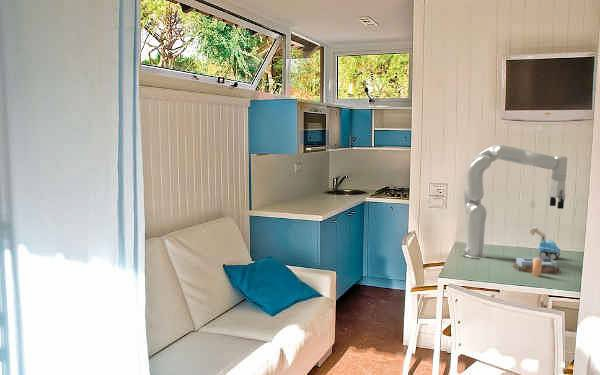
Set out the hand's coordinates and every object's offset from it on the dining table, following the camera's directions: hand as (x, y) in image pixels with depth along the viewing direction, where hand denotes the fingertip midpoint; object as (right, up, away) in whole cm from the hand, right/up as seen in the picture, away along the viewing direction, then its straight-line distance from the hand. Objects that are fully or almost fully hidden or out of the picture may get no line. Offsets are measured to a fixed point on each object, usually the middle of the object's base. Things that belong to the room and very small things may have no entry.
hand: (556, 207), depth 309 cm
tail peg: (-28, -35, -36) cm, 58 cm away
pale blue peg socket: (-23, -32, -25) cm, 47 cm away
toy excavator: (-3, -30, +10) cm, 32 cm away
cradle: (-23, -34, -25) cm, 48 cm away
